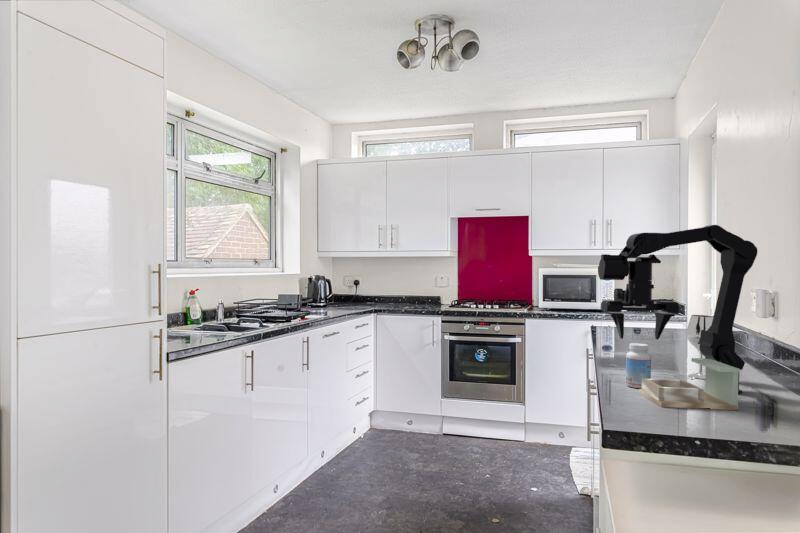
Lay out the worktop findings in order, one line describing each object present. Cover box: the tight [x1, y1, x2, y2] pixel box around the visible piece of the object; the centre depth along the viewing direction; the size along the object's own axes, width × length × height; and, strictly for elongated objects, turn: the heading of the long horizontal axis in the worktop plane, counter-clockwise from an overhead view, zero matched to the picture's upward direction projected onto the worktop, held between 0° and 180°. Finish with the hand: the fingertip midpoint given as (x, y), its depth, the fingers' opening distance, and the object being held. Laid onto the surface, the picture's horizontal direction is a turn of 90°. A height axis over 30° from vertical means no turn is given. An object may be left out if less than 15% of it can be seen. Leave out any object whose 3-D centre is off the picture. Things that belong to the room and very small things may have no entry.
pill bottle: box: [625, 342, 652, 389], centre depth 141 cm, size 6×6×11 cm
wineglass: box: [685, 314, 714, 380], centre depth 156 cm, size 8×8×18 cm
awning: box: [691, 357, 741, 406], centre depth 127 cm, size 4×13×9 cm, turn 177°
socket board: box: [638, 378, 740, 411], centre depth 127 cm, size 17×13×4 cm
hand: (639, 339), depth 141 cm, fingers open, 9 cm apart
